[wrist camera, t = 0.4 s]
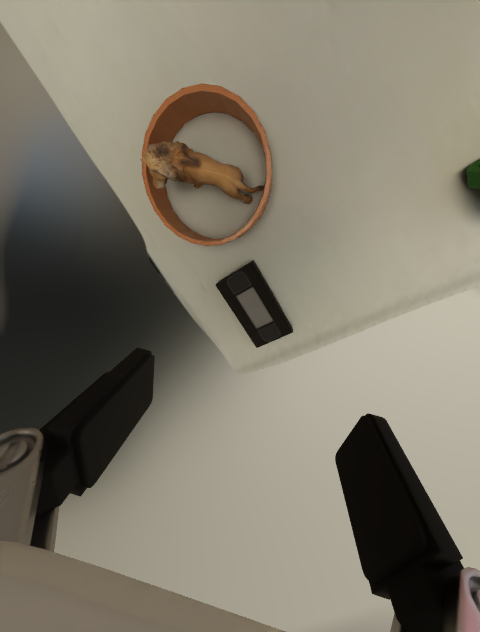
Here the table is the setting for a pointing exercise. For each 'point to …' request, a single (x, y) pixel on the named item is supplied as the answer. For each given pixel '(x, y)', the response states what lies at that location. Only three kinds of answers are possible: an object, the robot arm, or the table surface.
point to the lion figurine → (193, 169)
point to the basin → (171, 121)
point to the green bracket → (474, 175)
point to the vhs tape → (254, 305)
